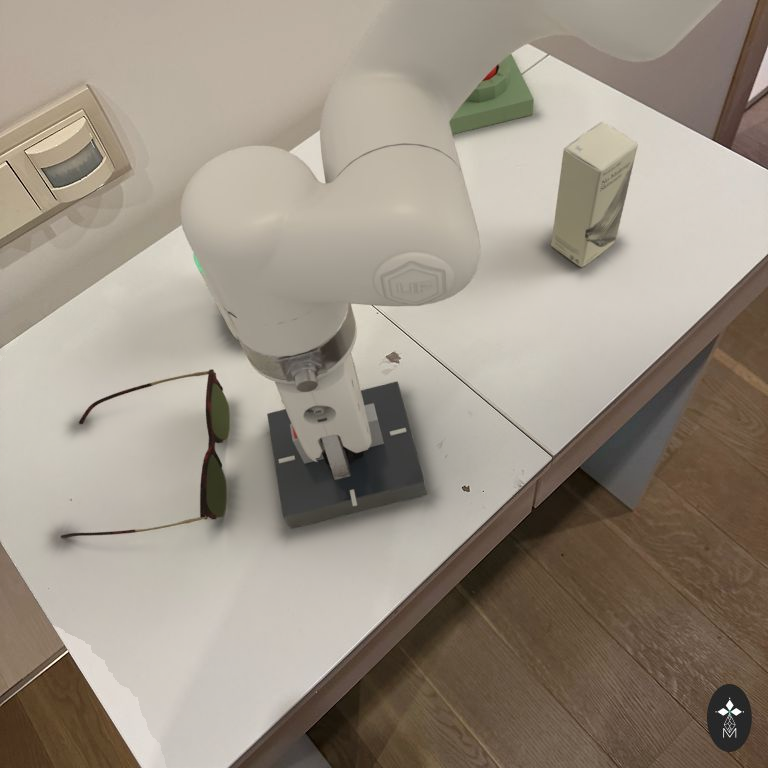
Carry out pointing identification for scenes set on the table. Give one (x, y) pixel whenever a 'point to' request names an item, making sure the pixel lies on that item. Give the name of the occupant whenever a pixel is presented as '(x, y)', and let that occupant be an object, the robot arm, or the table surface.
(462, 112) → the button box
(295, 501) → the plate
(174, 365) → the table surface
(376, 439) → the long grey beam
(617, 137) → the box
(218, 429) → the sunglasses
